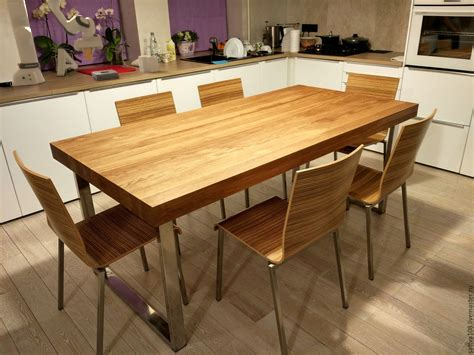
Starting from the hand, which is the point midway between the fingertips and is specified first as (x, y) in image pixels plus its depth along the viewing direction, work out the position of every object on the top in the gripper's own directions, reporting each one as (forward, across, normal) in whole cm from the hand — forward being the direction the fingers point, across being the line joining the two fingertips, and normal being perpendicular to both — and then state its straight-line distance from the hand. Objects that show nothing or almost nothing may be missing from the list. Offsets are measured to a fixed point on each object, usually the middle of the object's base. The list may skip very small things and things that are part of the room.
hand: (88, 53), depth 286 cm
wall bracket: (-14, -28, +40) cm, 50 cm away
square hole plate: (+10, +8, +16) cm, 20 cm away
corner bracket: (-4, +39, +31) cm, 50 cm away
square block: (+3, 0, +4) cm, 5 cm away
